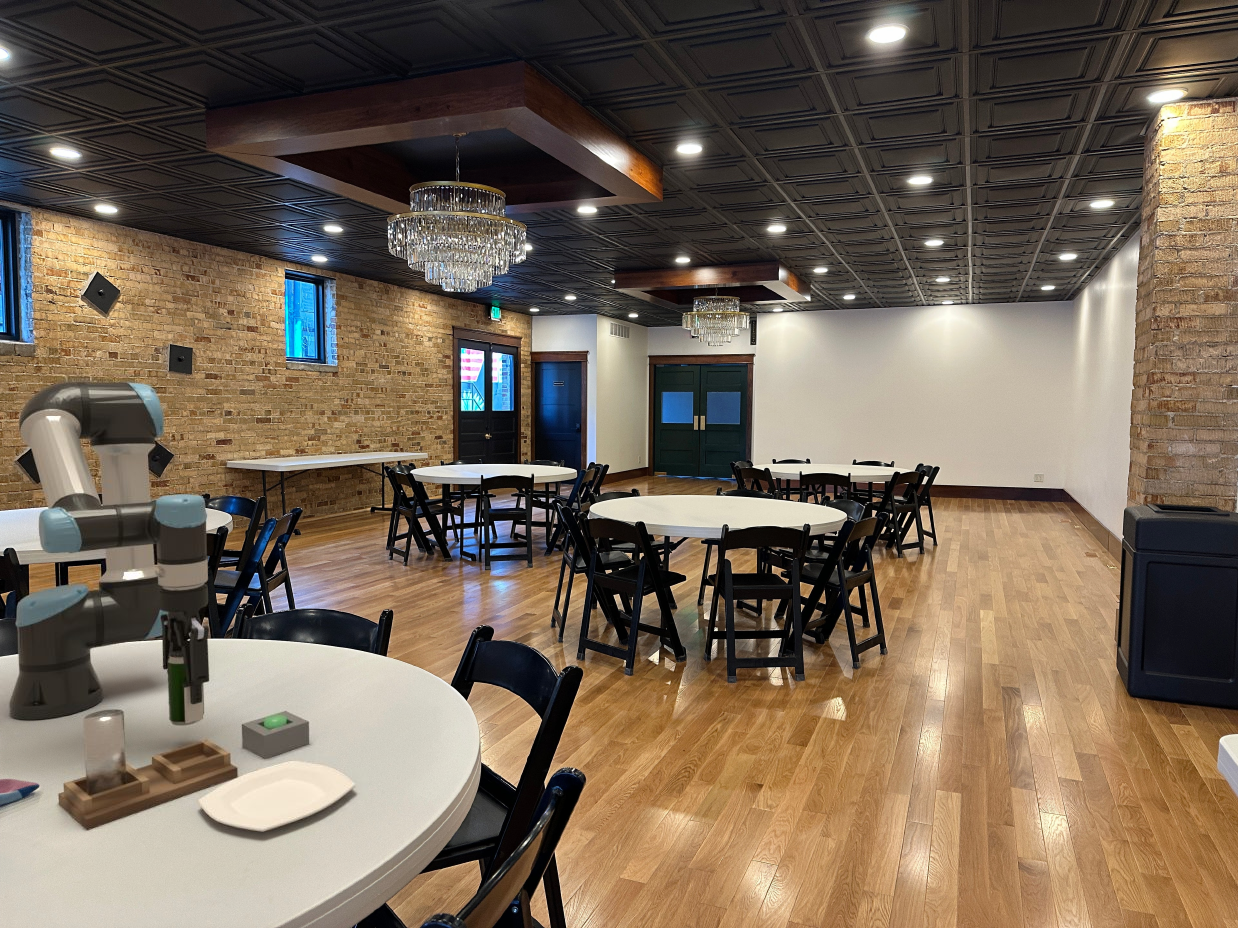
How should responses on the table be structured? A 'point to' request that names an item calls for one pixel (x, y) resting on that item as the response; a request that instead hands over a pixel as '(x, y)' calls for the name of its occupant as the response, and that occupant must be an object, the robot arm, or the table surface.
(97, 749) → the cylinder
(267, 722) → the button
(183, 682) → the green drink can
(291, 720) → the grey square socket block
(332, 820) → the table surface
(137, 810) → the wooden tray
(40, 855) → the table surface
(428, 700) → the table surface
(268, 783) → the plate
